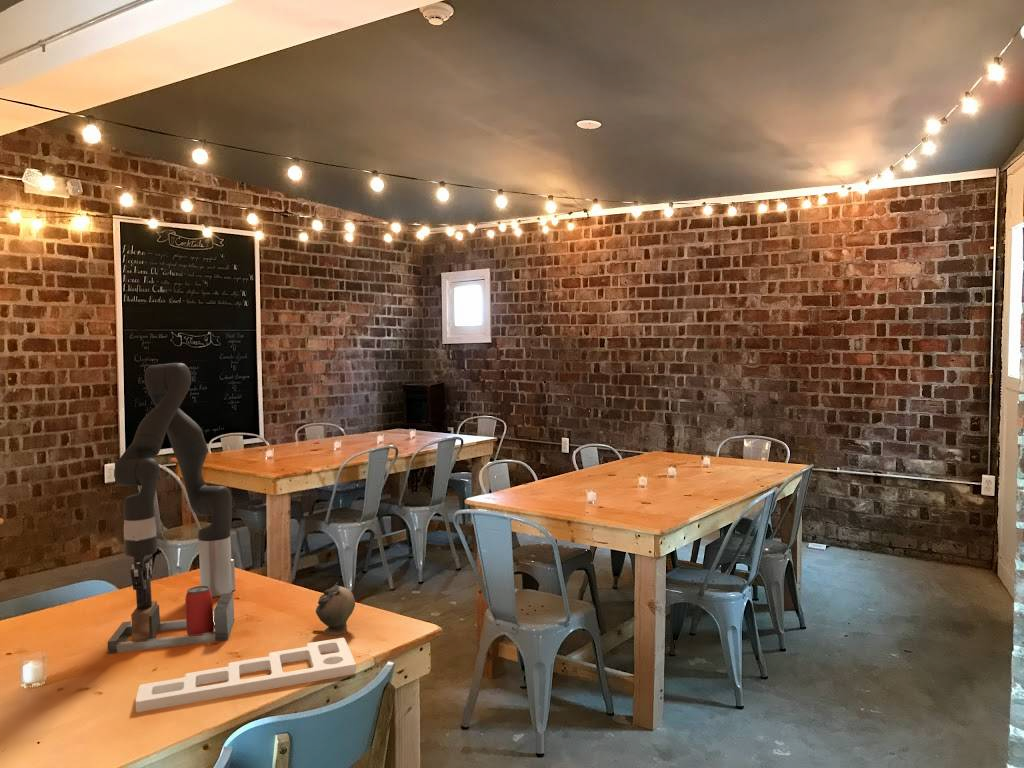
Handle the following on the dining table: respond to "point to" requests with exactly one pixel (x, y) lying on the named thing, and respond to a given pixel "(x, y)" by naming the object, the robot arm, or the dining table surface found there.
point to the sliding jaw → (145, 617)
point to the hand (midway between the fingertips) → (143, 601)
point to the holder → (187, 691)
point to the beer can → (199, 610)
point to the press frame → (221, 619)
